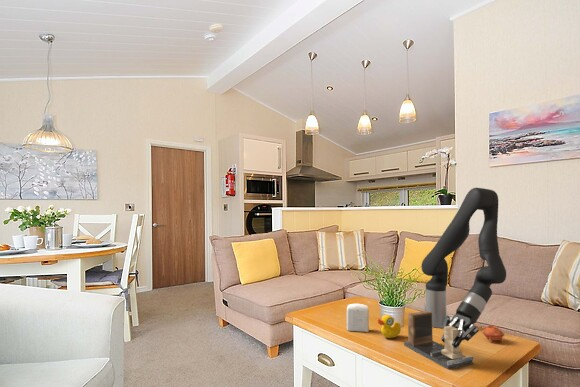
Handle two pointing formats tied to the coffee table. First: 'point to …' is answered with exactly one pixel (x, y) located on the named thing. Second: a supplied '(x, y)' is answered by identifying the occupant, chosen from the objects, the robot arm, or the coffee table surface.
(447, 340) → the beige pedestal column
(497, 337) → the pot
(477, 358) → the coffee table surface
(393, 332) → the duckling
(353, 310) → the photo printer
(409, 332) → the dark brown block
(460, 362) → the grey stepped base
